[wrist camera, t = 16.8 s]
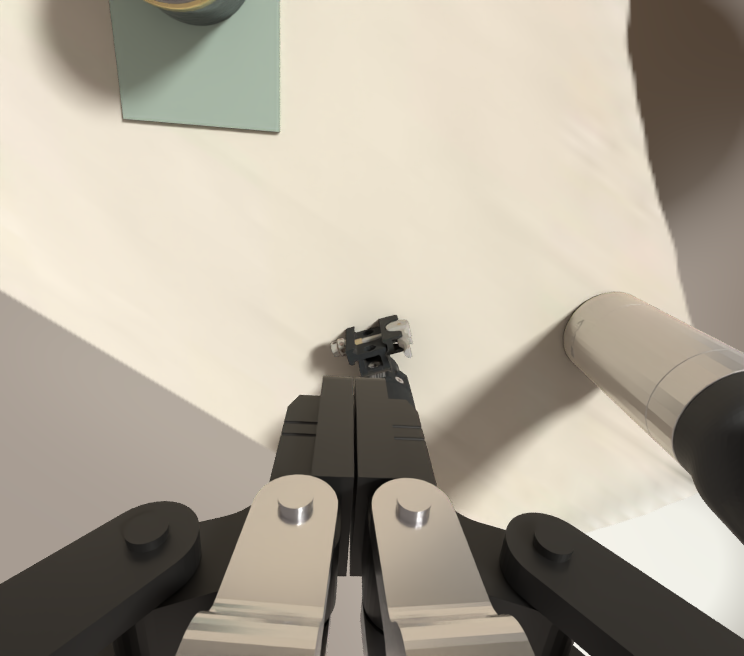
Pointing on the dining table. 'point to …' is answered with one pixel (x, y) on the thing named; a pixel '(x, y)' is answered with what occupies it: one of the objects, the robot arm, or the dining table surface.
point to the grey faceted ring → (198, 10)
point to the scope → (380, 354)
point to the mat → (199, 66)
